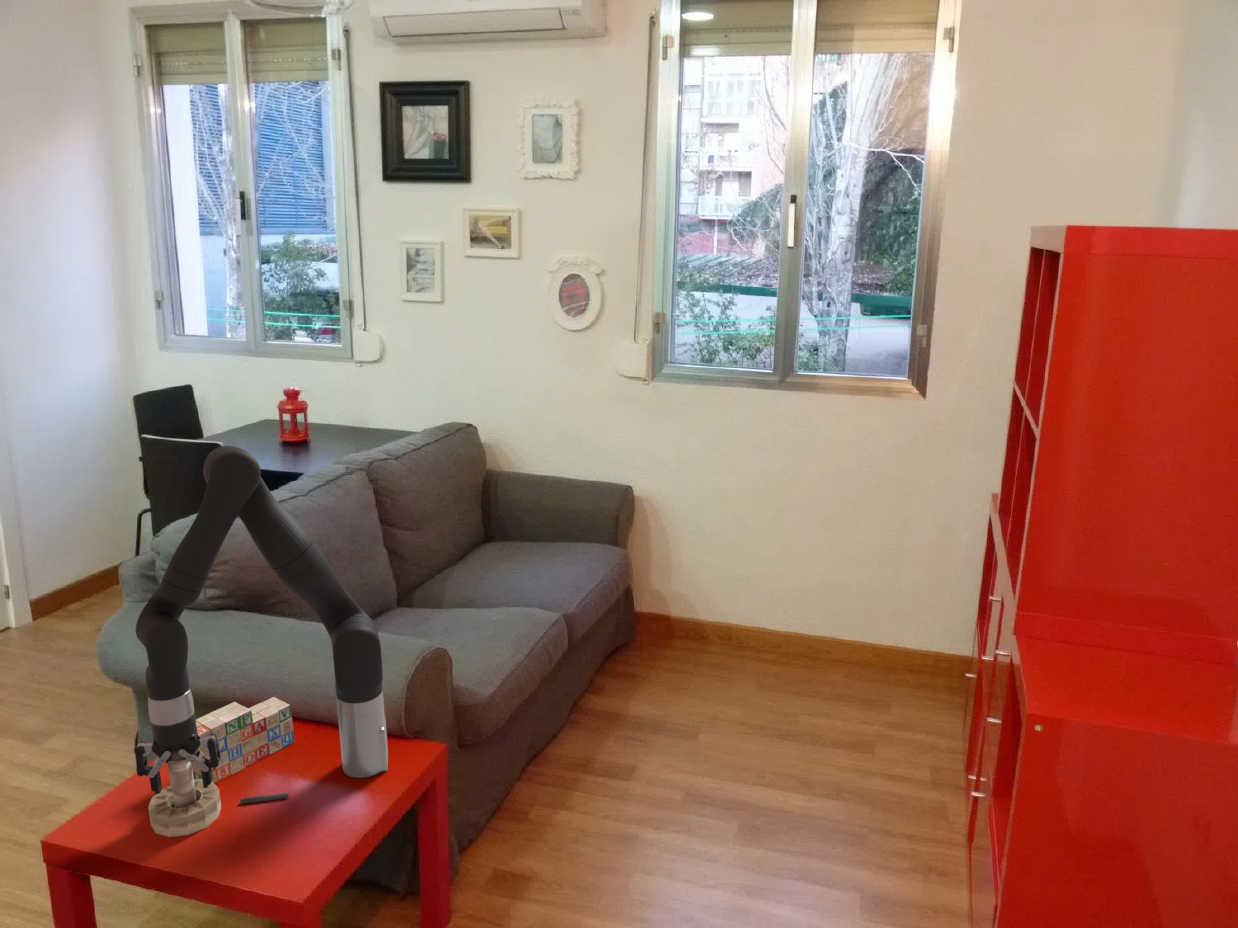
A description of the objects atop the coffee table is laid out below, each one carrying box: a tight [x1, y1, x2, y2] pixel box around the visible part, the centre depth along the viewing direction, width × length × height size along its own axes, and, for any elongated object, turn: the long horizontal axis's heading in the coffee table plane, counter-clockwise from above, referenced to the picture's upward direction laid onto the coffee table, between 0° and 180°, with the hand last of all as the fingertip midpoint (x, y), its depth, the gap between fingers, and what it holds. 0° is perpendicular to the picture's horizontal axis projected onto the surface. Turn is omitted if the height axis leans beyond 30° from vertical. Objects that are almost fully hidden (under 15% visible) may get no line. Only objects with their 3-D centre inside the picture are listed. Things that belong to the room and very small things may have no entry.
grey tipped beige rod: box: [167, 751, 197, 808], centre depth 178 cm, size 4×4×15 cm
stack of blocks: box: [192, 696, 295, 784], centre depth 197 cm, size 21×6×12 cm, turn 143°
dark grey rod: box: [239, 792, 289, 805], centre depth 185 cm, size 9×1×1 cm, turn 103°
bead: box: [147, 779, 222, 838], centre depth 180 cm, size 12×12×4 cm
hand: (182, 788), depth 179 cm, fingers open, 8 cm apart
